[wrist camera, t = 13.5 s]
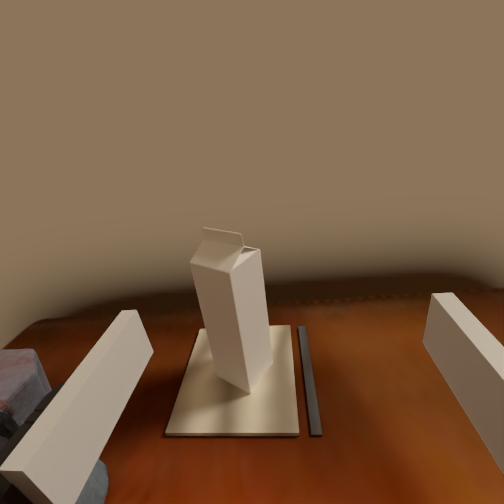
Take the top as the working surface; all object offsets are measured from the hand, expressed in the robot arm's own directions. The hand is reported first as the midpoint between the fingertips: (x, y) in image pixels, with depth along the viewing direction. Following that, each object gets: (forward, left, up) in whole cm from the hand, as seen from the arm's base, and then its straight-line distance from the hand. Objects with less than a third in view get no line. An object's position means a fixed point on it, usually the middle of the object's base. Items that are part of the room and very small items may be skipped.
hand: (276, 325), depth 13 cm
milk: (+6, -18, -24) cm, 31 cm away
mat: (+6, -18, -25) cm, 31 cm away
